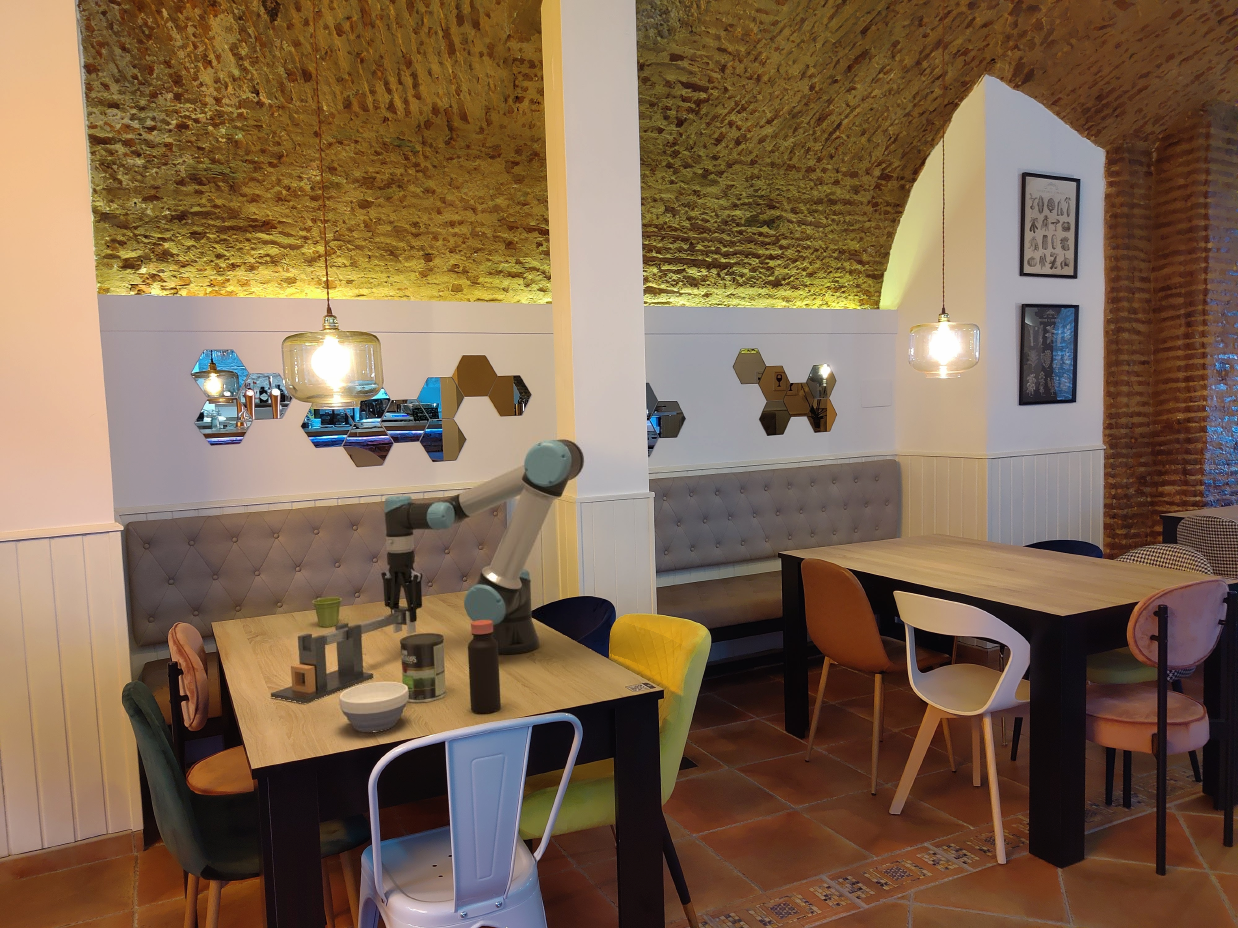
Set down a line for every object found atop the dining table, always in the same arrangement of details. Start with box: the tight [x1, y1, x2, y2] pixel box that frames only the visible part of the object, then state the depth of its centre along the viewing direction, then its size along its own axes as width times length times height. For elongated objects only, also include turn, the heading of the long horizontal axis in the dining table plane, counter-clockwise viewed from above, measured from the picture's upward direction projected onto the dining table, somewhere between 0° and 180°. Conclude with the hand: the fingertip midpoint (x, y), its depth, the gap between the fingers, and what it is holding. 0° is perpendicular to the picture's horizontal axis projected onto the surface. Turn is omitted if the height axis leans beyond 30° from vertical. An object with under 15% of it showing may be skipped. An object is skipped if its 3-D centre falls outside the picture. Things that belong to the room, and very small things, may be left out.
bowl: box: [338, 681, 409, 733], centre depth 182 cm, size 14×14×8 cm
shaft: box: [321, 605, 408, 646], centre depth 224 cm, size 4×30×4 cm, turn 151°
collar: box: [290, 663, 316, 693], centre depth 205 cm, size 6×2×6 cm, turn 61°
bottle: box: [467, 620, 502, 715], centre depth 189 cm, size 7×7×20 cm
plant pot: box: [312, 596, 343, 628], centre depth 280 cm, size 9×9×9 cm
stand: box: [270, 622, 374, 704], centre depth 210 cm, size 12×22×14 cm, turn 151°
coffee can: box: [399, 632, 447, 704], centre depth 201 cm, size 10×10×14 cm
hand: (404, 632), depth 236 cm, fingers closed on shaft, 4 cm apart
